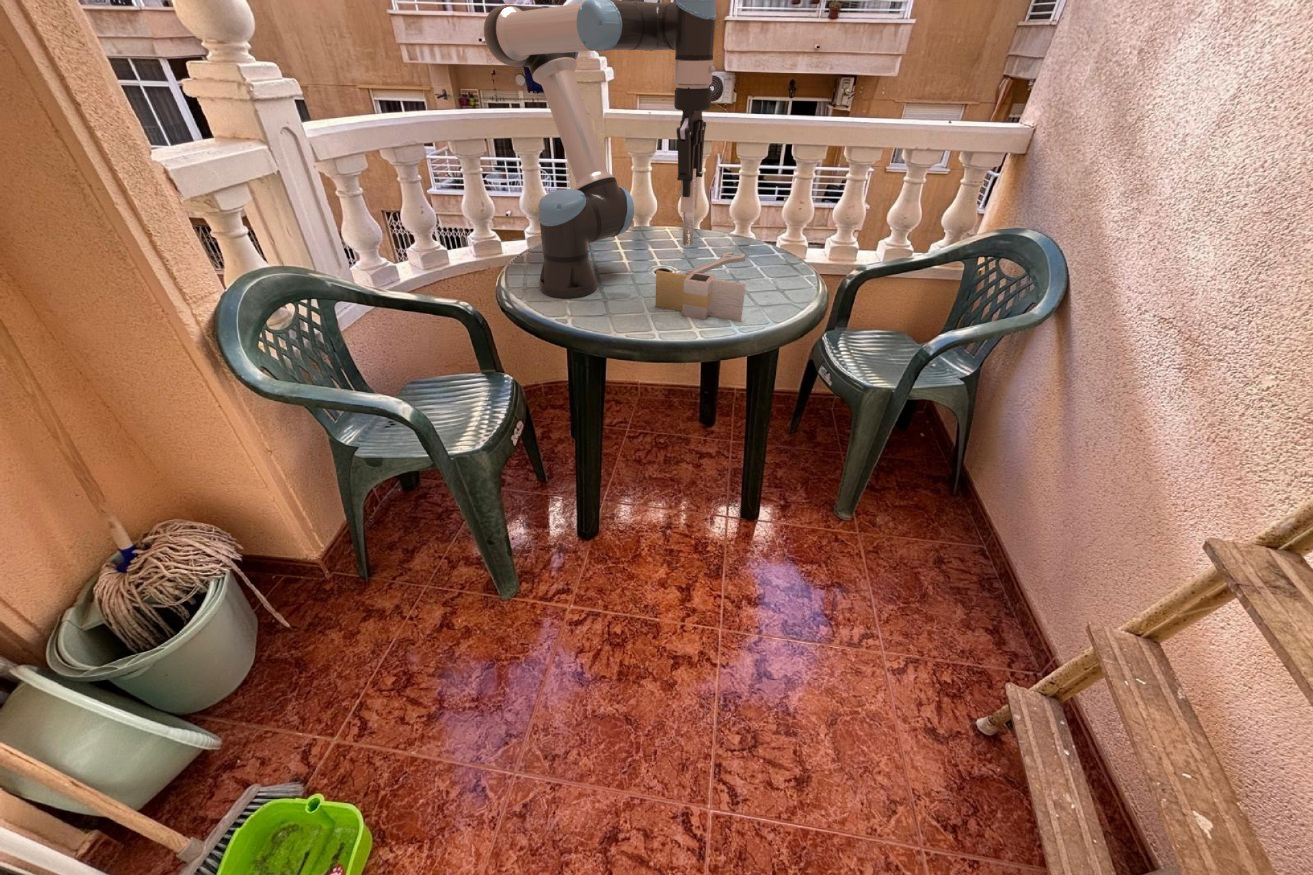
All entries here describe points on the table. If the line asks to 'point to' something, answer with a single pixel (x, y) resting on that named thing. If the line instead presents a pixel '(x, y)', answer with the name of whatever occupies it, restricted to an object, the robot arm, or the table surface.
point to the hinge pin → (689, 220)
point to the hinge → (699, 295)
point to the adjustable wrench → (718, 262)
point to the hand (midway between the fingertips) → (689, 210)
